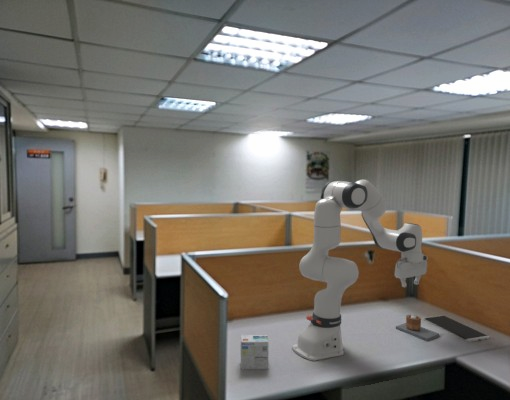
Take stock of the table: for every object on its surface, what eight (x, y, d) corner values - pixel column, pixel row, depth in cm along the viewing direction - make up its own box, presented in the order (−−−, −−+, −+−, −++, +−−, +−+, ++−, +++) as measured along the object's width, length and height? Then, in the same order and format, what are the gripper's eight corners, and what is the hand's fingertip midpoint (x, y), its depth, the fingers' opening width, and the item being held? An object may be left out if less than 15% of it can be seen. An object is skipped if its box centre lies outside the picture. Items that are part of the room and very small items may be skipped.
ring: (415, 331, 165) (415, 320, 165) (403, 326, 170) (404, 316, 170) (422, 328, 168) (423, 317, 168) (411, 324, 173) (411, 314, 173)
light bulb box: (267, 360, 140) (267, 334, 139) (268, 369, 133) (269, 341, 132) (240, 361, 139) (240, 334, 139) (240, 370, 133) (240, 341, 132)
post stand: (426, 341, 158) (427, 325, 158) (395, 328, 172) (396, 314, 171) (439, 336, 164) (439, 320, 163) (408, 324, 177) (408, 310, 177)
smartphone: (467, 343, 158) (468, 339, 158) (422, 320, 184) (422, 317, 184) (490, 340, 162) (490, 336, 162) (443, 318, 188) (443, 314, 188)
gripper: (403, 260, 161) (402, 290, 161) (429, 256, 172) (428, 284, 172) (391, 257, 166) (390, 286, 167) (417, 254, 177) (416, 281, 177)
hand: (410, 285), depth 169 cm, fingers open, 8 cm apart
